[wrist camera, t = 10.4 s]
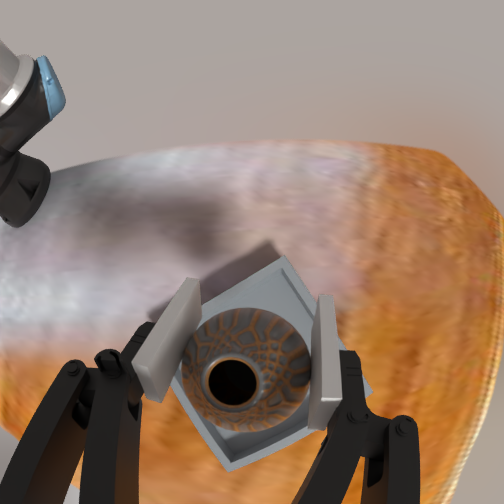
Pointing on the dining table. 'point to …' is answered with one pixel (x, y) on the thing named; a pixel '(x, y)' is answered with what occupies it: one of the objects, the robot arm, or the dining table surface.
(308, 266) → the dining table surface
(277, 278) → the box
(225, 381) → the vase
